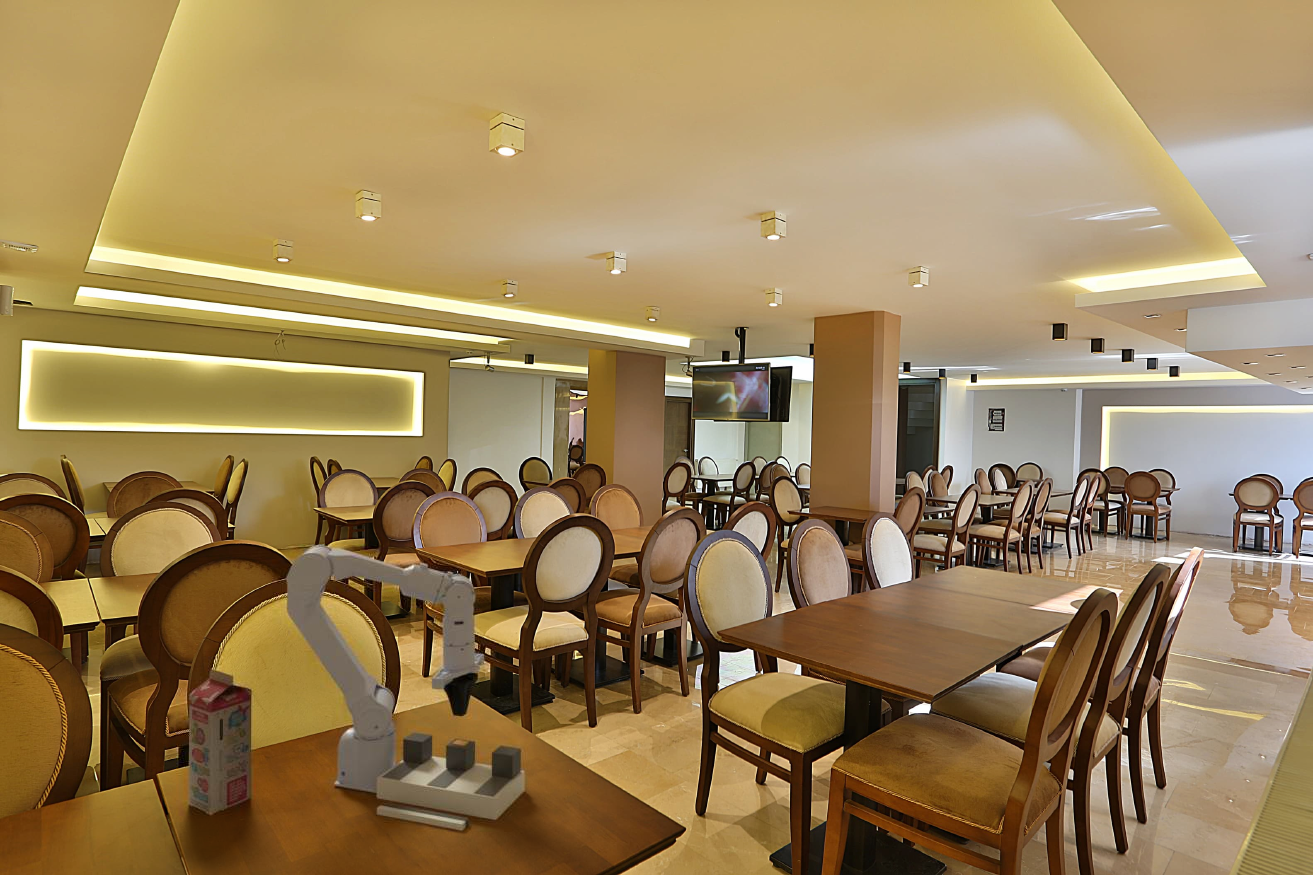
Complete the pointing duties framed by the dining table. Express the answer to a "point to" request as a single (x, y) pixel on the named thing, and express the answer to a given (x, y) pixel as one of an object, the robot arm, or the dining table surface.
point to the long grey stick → (423, 816)
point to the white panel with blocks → (453, 781)
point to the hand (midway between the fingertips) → (459, 714)
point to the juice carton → (219, 743)
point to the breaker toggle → (460, 754)
